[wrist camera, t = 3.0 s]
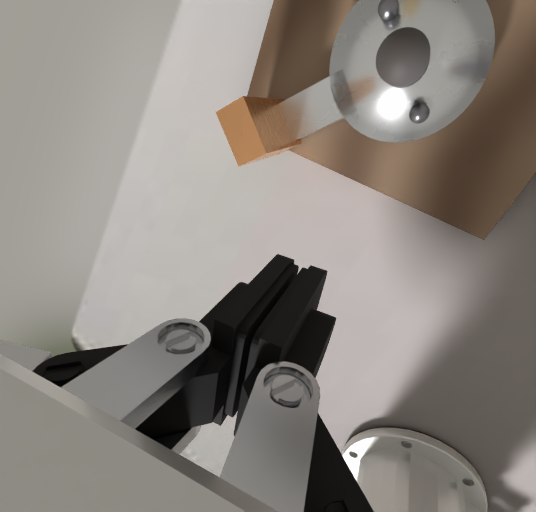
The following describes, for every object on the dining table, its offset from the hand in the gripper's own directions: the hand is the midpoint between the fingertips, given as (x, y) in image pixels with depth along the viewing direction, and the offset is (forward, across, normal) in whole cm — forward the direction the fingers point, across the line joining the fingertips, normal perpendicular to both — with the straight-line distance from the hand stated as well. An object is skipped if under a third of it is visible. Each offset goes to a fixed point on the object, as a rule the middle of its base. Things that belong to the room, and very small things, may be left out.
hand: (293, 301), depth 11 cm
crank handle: (+14, +2, -6) cm, 16 cm away
